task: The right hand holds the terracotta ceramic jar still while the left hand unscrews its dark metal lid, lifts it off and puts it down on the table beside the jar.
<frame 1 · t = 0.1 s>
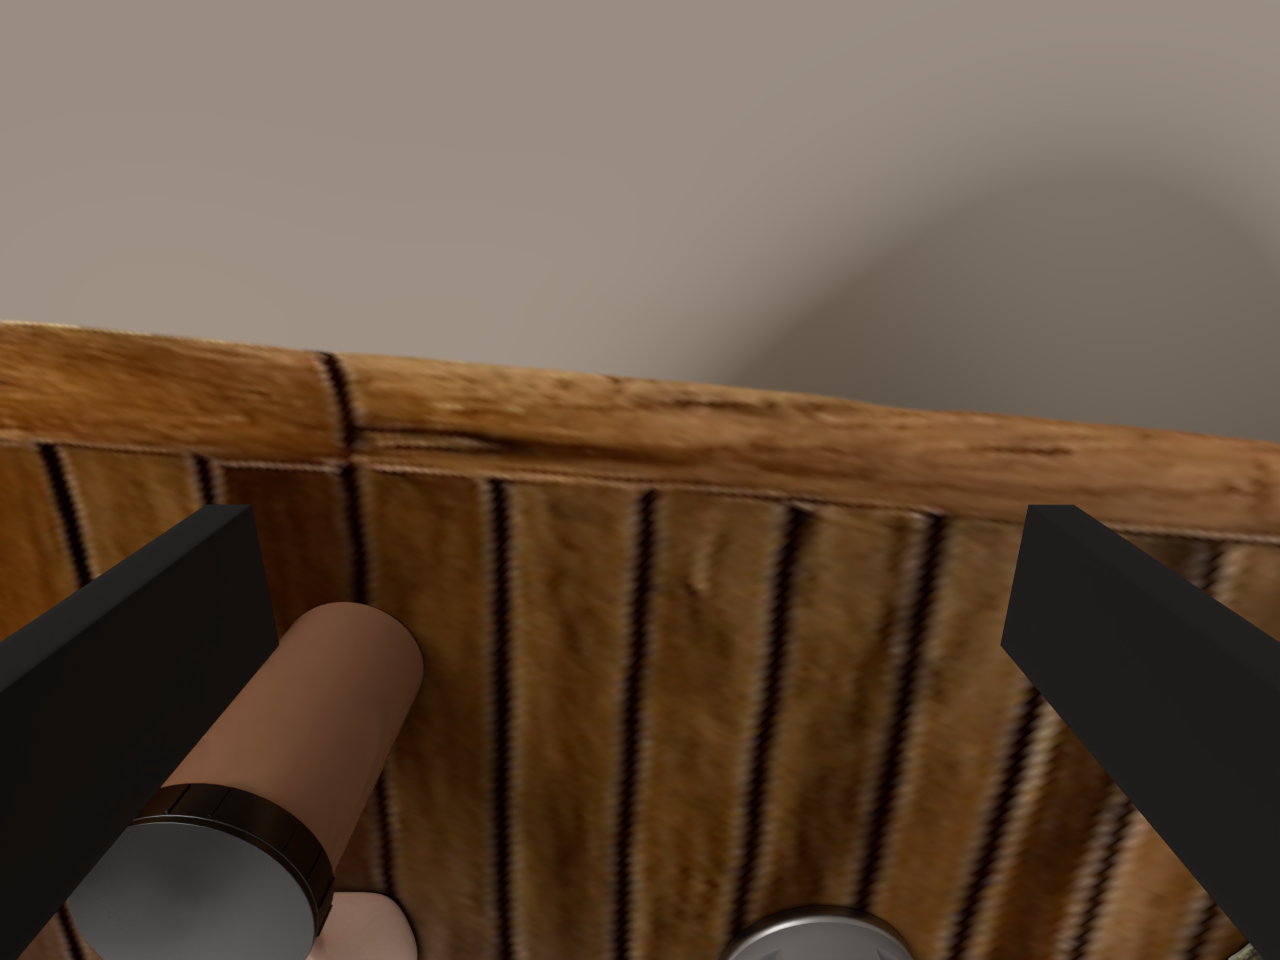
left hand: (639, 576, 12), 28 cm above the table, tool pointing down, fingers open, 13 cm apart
anatomical model: (340, 947, 55), on the table
jar: (354, 662, 46), on the table
lid: (197, 908, 30), point 17 cm above the table, screwed on, not yet turned
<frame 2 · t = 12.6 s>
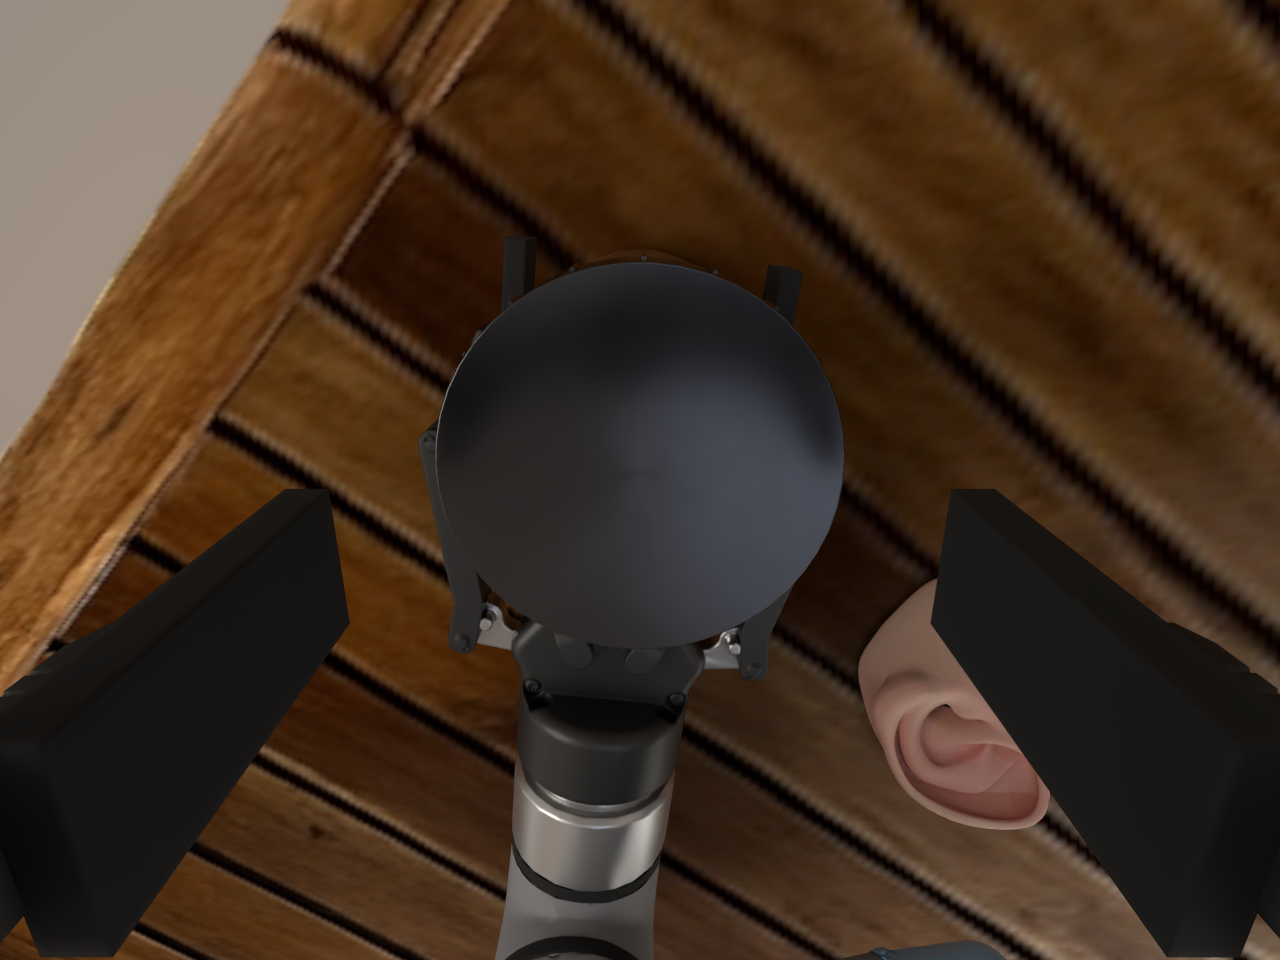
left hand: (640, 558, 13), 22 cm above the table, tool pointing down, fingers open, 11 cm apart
anatomical model: (953, 683, 40), on the table
jar: (640, 347, 34), on the table, touching right hand
lid: (639, 469, 18), point 17 cm above the table, screwed on, not yet turned
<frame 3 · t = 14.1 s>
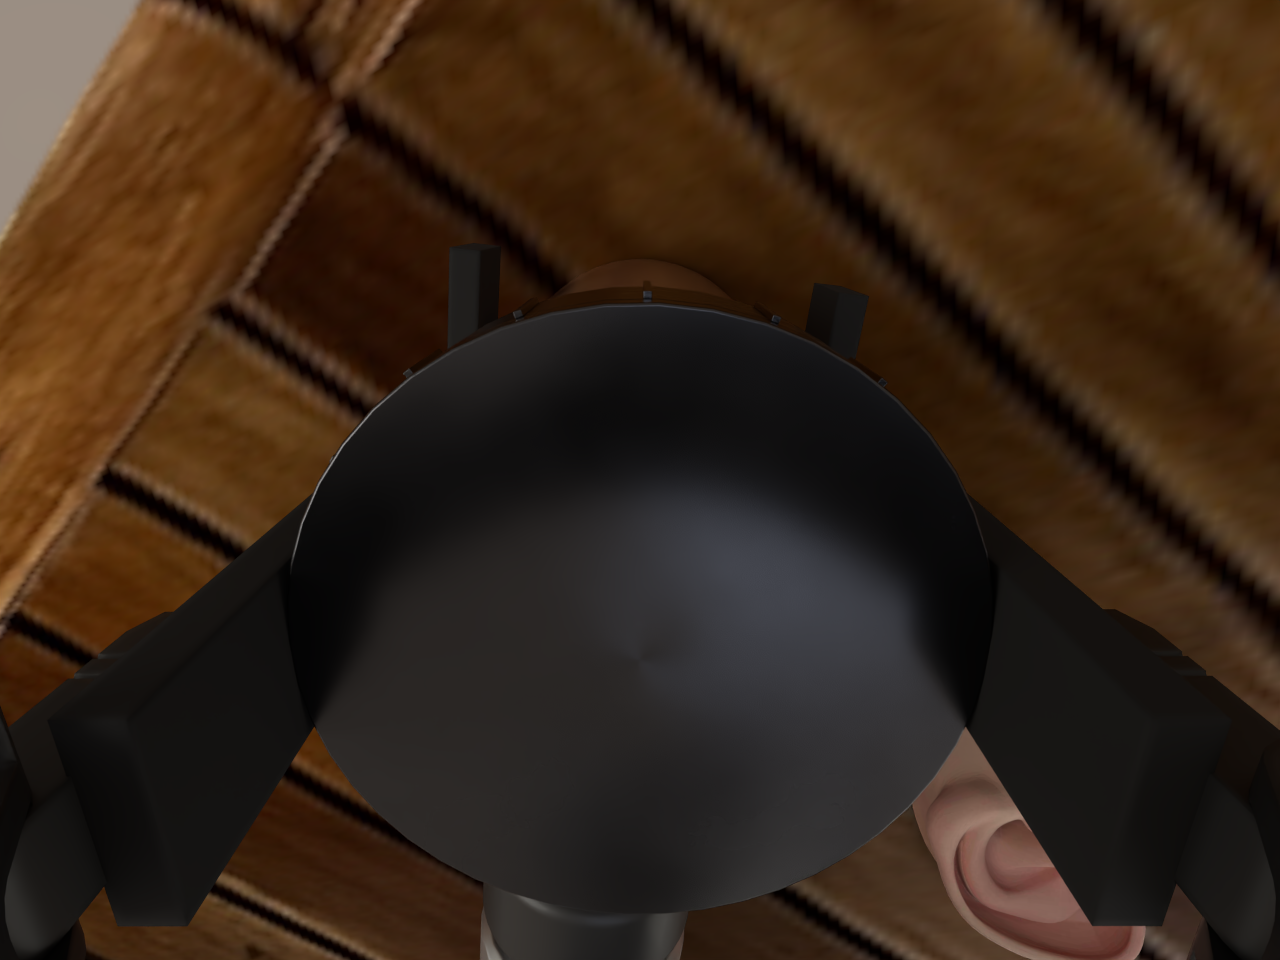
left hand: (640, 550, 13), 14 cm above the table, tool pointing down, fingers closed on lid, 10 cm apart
anatomical model: (1022, 786, 33), on the table
jar: (640, 383, 27), on the table, touching right hand
lid: (640, 646, 10), point 17 cm above the table, screwed on, not yet turned, touching left hand
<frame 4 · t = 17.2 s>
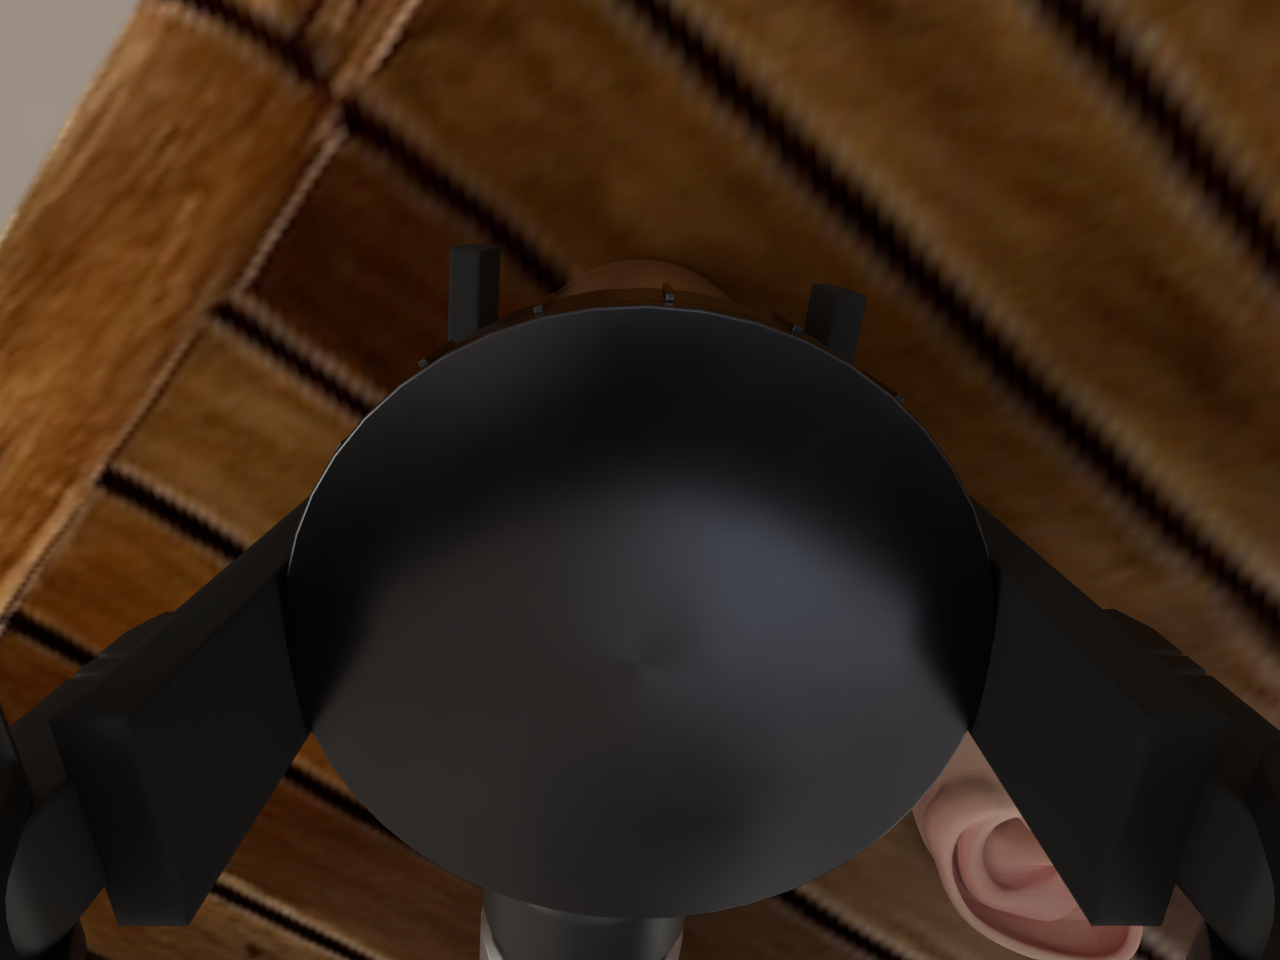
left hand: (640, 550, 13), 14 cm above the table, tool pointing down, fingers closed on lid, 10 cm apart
anatomical model: (1020, 784, 33), on the table
jar: (639, 383, 27), on the table, touching right hand
lid: (639, 649, 10), point 17 cm above the table, turned 92° so far, risen 0.1 cm, still on its thread, touching left hand
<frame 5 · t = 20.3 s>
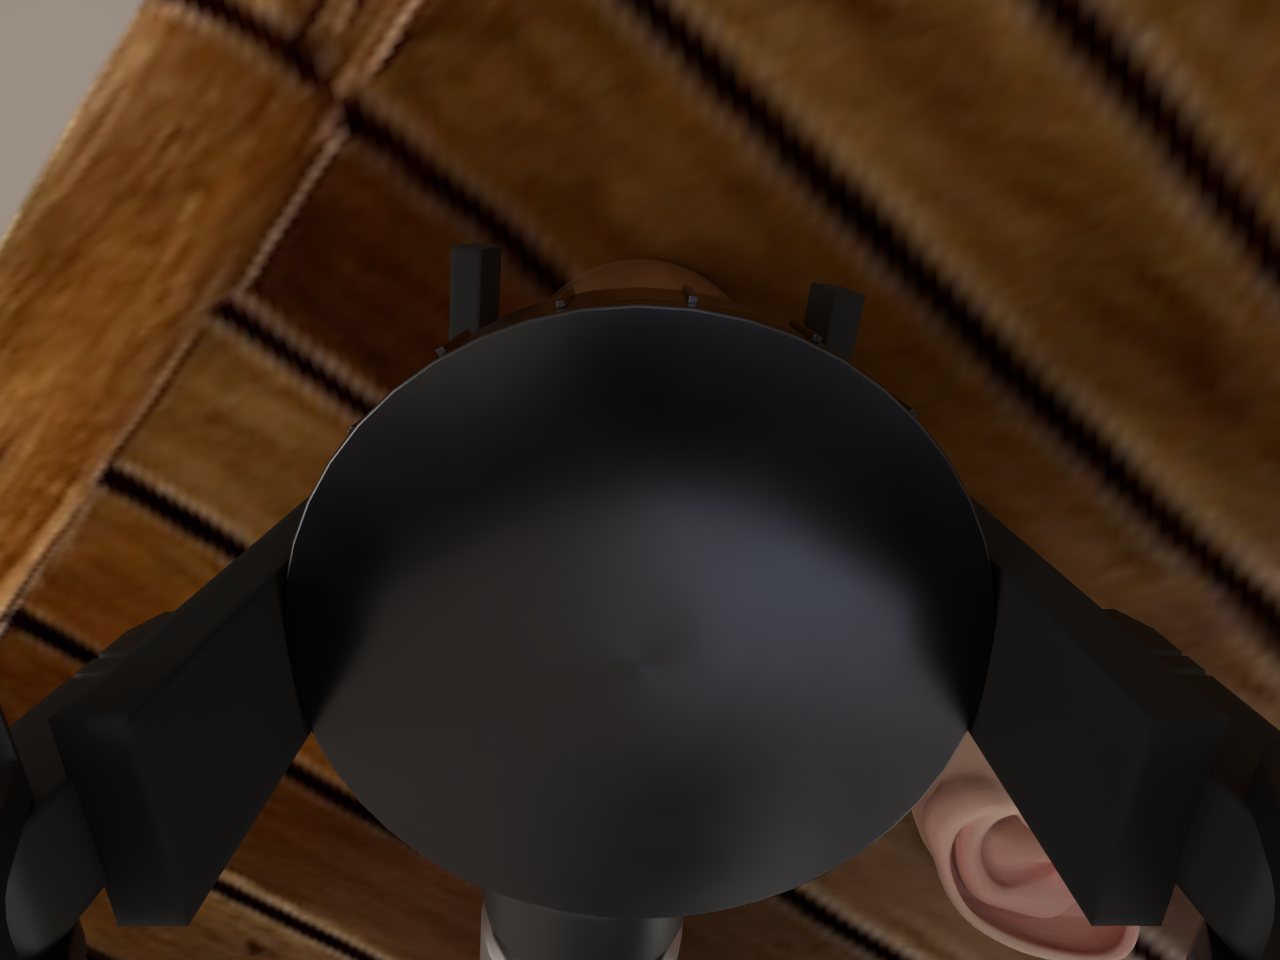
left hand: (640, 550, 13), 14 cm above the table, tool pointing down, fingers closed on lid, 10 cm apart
anatomical model: (1017, 782, 33), on the table
jar: (639, 382, 27), on the table, touching right hand
lid: (639, 649, 10), point 18 cm above the table, turned 183° so far, risen 0.3 cm, still on its thread, touching left hand
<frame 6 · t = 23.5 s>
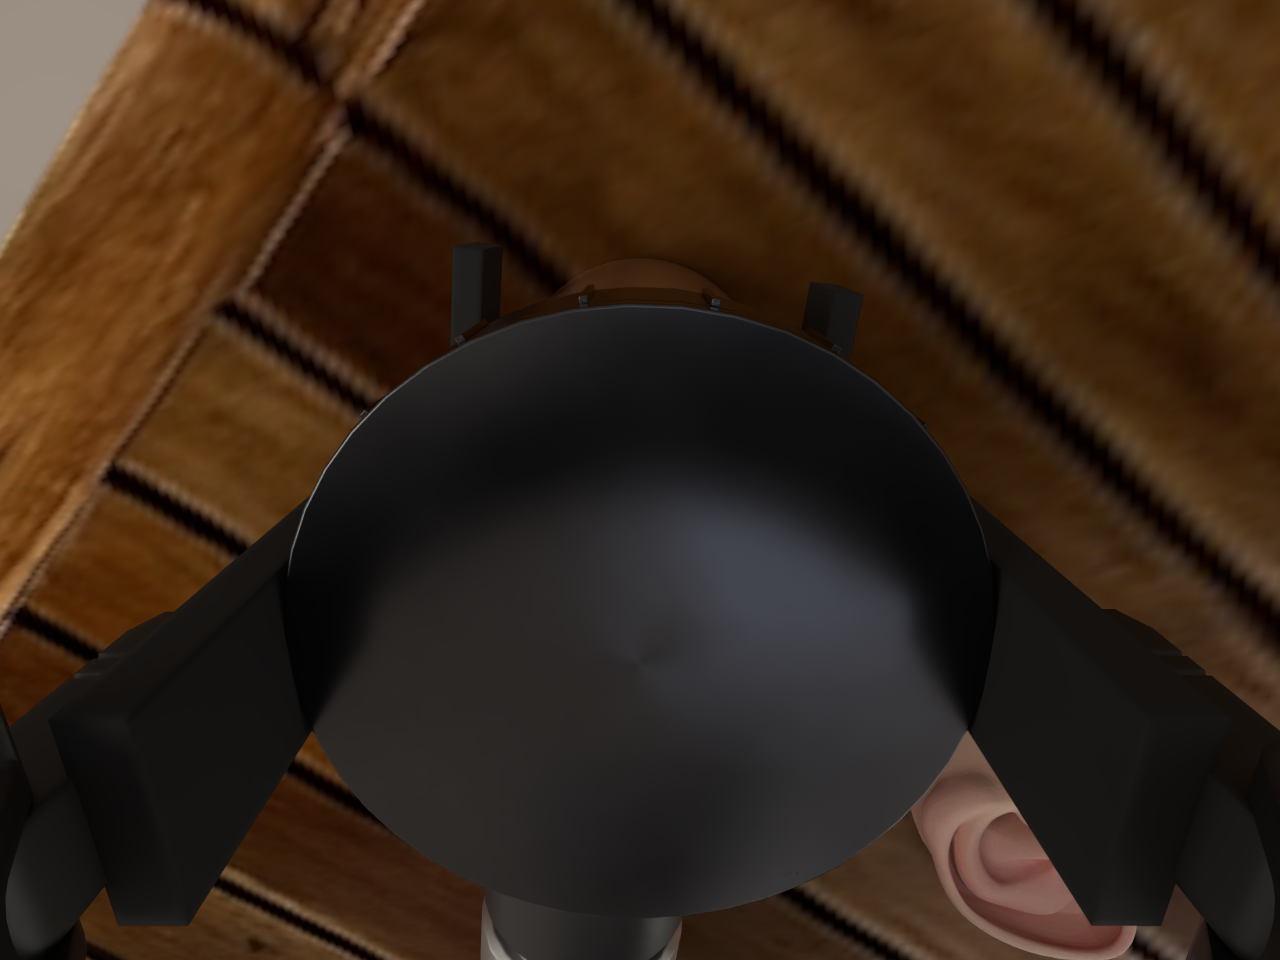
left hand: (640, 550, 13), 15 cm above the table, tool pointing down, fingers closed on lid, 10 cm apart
anatomical model: (1016, 779, 34), on the table
jar: (639, 381, 27), on the table, touching right hand
lid: (639, 648, 10), point 18 cm above the table, turned 274° so far, risen 0.5 cm, still on its thread, touching left hand
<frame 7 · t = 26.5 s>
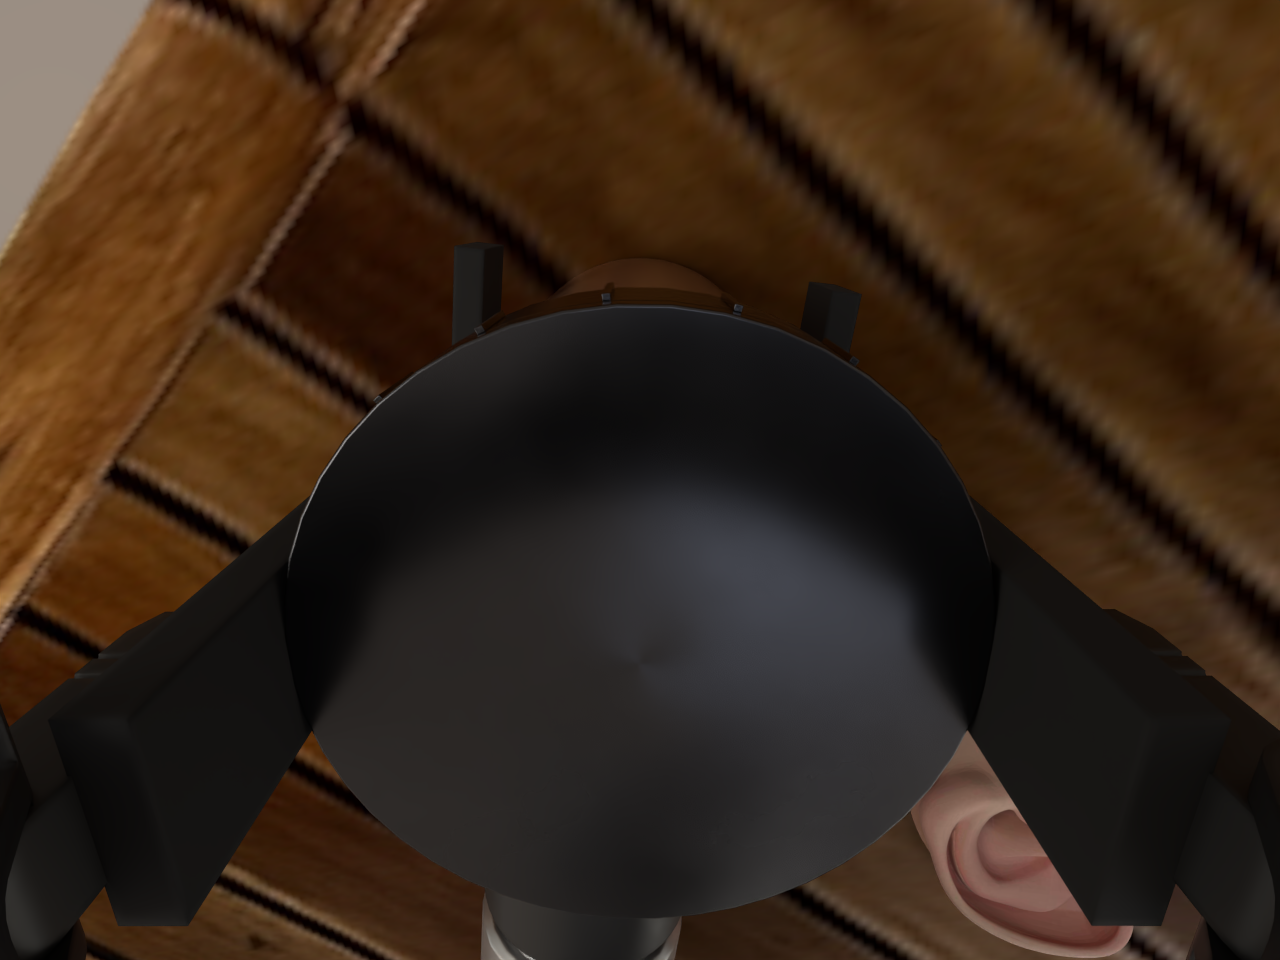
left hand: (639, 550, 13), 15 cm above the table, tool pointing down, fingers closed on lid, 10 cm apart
anatomical model: (1014, 777, 34), on the table
jar: (639, 380, 27), on the table, touching right hand
lid: (639, 649, 10), point 18 cm above the table, turned 366° so far, risen 0.6 cm, still on its thread, touching left hand
when the left hand's fingers open (0 cm above the table, at t = 35.9 s): lid drops 2 cm, point 2 cm above the table.
when the right hand's fingers open (7 cm above the table, at t = 36.9 s): jar stays where it is, on the table.
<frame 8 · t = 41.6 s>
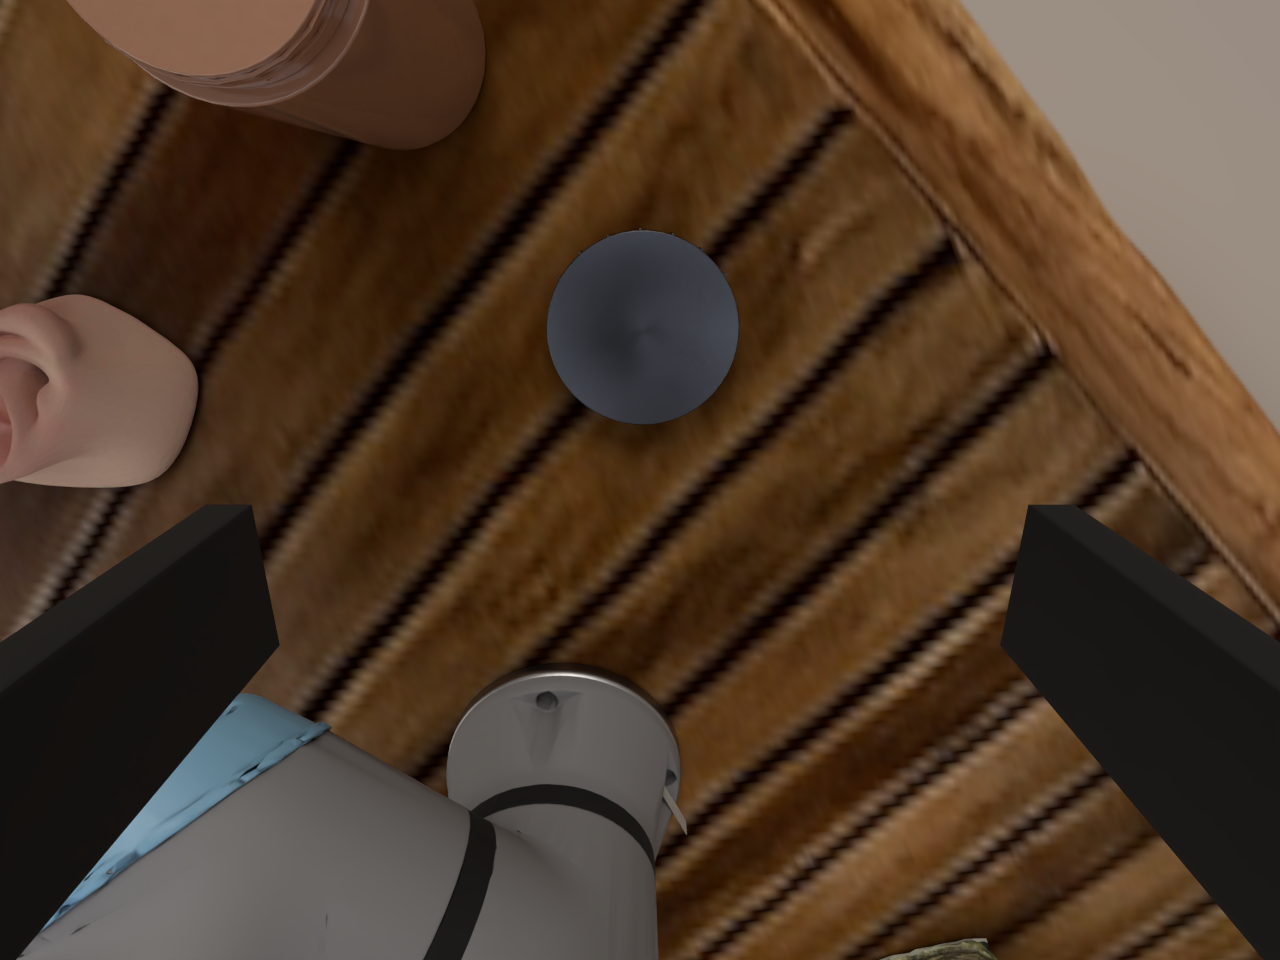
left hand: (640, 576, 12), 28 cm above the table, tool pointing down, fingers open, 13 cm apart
anatomical model: (80, 395, 40), on the table
jar: (392, 48, 34), on the table
lid: (642, 331, 37), point 2 cm above the table, off its thread
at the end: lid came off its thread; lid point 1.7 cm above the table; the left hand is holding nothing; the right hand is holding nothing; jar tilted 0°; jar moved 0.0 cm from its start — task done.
